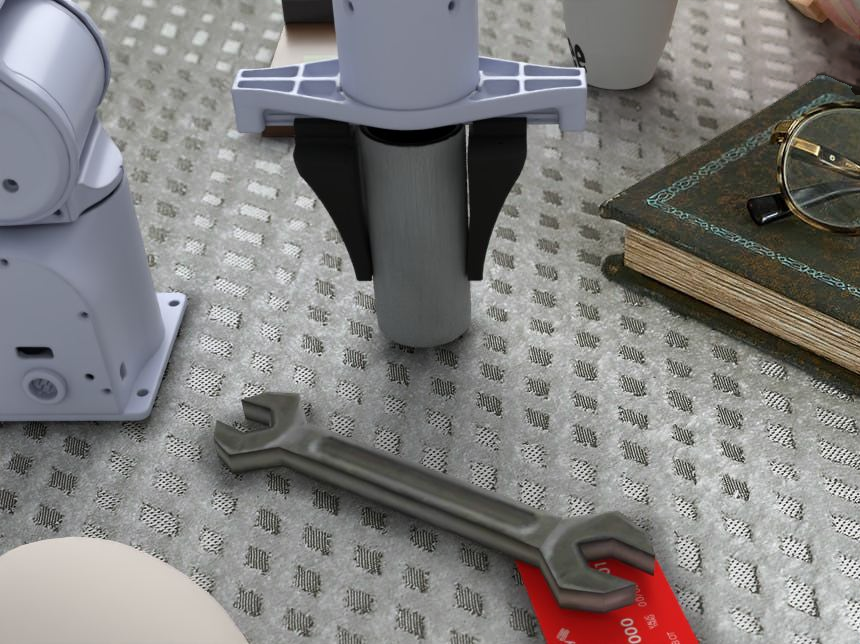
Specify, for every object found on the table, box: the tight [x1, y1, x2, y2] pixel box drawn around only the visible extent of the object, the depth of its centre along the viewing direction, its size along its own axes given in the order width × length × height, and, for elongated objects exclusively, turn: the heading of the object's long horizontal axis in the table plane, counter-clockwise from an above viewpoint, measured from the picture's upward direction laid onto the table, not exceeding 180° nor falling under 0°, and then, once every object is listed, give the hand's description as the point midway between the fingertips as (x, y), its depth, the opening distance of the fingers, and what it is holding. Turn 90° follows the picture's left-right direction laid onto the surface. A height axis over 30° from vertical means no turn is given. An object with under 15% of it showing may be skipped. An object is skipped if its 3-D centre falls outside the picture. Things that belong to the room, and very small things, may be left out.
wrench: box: [212, 391, 656, 614], centre depth 48 cm, size 5×2×20 cm
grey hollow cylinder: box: [358, 123, 472, 348], centre depth 54 cm, size 4×4×10 cm
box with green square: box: [261, 0, 338, 137], centre depth 76 cm, size 13×10×4 cm
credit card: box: [514, 557, 700, 644], centre depth 45 cm, size 8×5×1 cm, turn 15°
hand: (421, 269), depth 55 cm, fingers closed on grey hollow cylinder, 4 cm apart
